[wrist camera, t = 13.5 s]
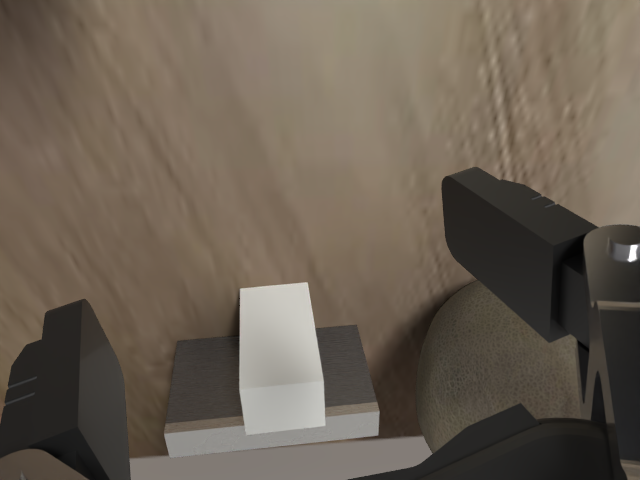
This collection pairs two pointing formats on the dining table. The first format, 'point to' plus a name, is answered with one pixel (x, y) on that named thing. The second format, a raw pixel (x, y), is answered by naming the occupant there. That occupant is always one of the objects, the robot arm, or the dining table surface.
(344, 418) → the grey flat box
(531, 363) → the cantaloupe
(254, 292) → the block
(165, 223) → the dining table surface
